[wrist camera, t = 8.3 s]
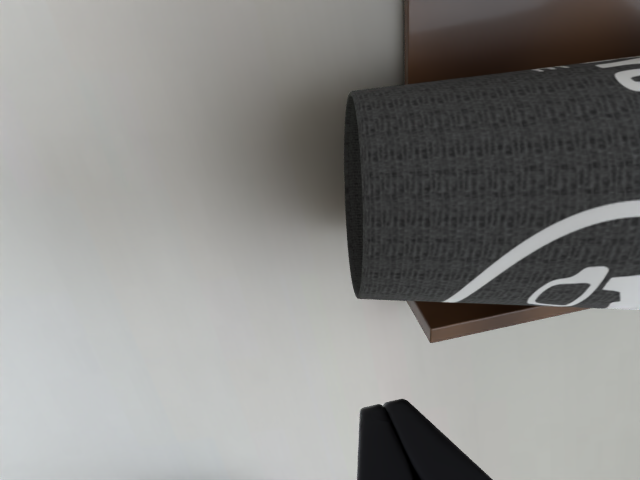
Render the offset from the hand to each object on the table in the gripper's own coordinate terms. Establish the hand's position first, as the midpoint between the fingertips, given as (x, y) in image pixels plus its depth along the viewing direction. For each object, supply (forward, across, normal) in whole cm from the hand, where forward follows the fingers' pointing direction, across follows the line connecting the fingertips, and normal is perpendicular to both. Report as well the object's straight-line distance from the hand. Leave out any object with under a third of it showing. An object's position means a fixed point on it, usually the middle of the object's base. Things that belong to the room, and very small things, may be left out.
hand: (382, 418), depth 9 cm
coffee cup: (+8, -1, 0) cm, 8 cm away
